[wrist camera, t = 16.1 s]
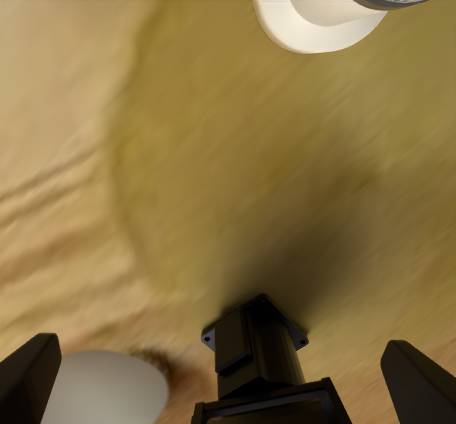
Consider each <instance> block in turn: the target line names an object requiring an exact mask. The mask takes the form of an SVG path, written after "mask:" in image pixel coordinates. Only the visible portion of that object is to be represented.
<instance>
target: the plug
mask: <svg viewBox="0 0 456 424" xmlns="http://www.w3.org/2000/svg"><path fill="white" fill-rule="evenodd" d="M425 1H428V0H252V2H253V7H254V11H255V14H256V17H257V19H258V22H259V24H260V26H261V27H262V29H263V31H264V32H265V33H266V35H267V36H268V37H269V38H270V39H271V40H272V41H273V42H274V43H275V44H277V45H278V46H279V47H281V48H283V49H285V50H287V51H290V52H293V53H298V54H311V53H322V52H332V51H337V50H341V49H344V48H346V47H349V46H351V45H353V44H355V43H357V42H358V41H360V40H361V39H363V38H364V37H365V36H367V35H368V34H369V33H370V32H371V31H372V30H373V29H374V28H375V27H376V26H377V25H378V24H379V23H380V22H381V20H382V19H383V18H384V16H385V15H386V13H387V12H388V11H389V10H396V9H400V8H404V7H408V6H411V5H415V4H418V3H422V2H425Z"/></svg>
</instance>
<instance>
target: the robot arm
mask: <svg viewBox="0 0 456 424" xmlns="http://www.w3.org/2000/svg"><path fill="white" fill-rule="evenodd" d="M263 300H265V301H264V302H261V301H263ZM201 341H202V342H203V343H204V344H205V345H207V346H208V347H209V348H210V349H212V350H213V351H214V352H215V372H216V373H217V381H218V401H212V402H207V403H205V402H199V403H196V404H195V410H194V415H193V416H192V420H191V424H352V422H351V420H350V418H349V416H348V414H347V412H346V410H345V408H344V406H343V404H342V402H341V399H340V397H339V395H338V393H337V391H336V389H335V387H334V385H333V383H332V381H331V379H330V377H326V378H321V380H319V381H314V382H309V383H306V382H305V379H304V375H303V372H302V369H301V366H300V362H299V359H298V356H297V352H296V351H297V350H299V349H301V348H302V347H304V346H306V345H307V344H308V343H309V340H308V337H307V335H306V334H305V333H304V332H303V331H302V330H301V329H300V328H299V327H298V326H297V325H296V324H295V323H294V322H293V321H292V320H291V319H290V318H289V317H288V316H287V315H286V314H285V313H284V312H283V311H282V310H281V309H280V308H279V307H278V306H277V305H276V304H275V303H274V302H273V301H272V300H271V299H270V298H269V297H268V296H267V295H265V294H261V295H259V296H257V297H255V298H254V299H252V300H251V301H249V302H248V303H246V304H245V305H243V306H242V307H240V308H239V309H237V310H236V311H234V312H233V313H231V314H230V315H228V316H226V317H225V318H223V319H222V320H220V321H219V322H217V323H216V324H214V325H213V326H211V327H210V328H208V329H207V330H205V331H204V332H202V334H201ZM61 358H62V355H61V350H60V345H59V340H58V336H57V334H56V333H39V334H37V335H35V336H34V337H33V338H31V339H30V340H29V341H27V342H26V343H25V344H24V345H22V346H21V347H20V348H18V349H17V350H16V351H14V352H13V353H12V354H10V355H9V356H8V357H7V358H5V359H4V360H3V361H1V362H0V424H40V423H41V420H42V418H43V415H44V412H45V409H46V406H47V403H48V400H49V397H50V394H51V391H52V388H53V385H54V382H55V379H56V376H57V373H58V370H59V367H60V364H61ZM380 363H381V369H382V372H383V375H384V378H385V381H386V384H387V387H388V390H389V393H390V396H391V399H392V401H393V404H394V407H395V410H396V413H397V416H398V419H399V421H400V424H456V377H454V376H453V375H452V374H450V373H449V372H447V371H446V370H445V369H443V368H442V367H441V366H439V365H438V364H437V363H435V362H434V361H433V360H431V359H430V358H429V357H427V356H426V355H425V354H423V353H422V352H420V351H419V350H418V349H416V348H415V347H414V346H412V345H411V344H410V343H408V342H407V341H404V340H390V341H389V342H388V344H387V346H386V348H385V351H384V353H383V355H382V358H381V362H380Z"/></svg>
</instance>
